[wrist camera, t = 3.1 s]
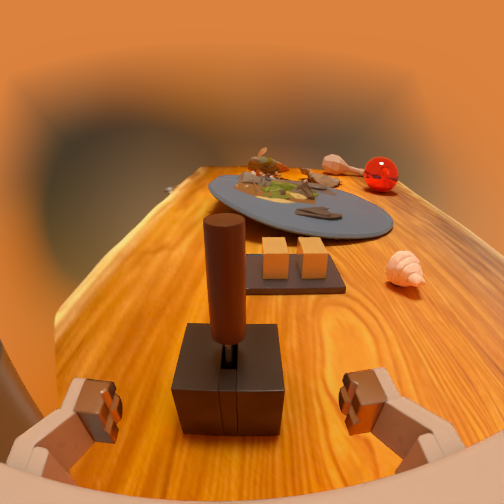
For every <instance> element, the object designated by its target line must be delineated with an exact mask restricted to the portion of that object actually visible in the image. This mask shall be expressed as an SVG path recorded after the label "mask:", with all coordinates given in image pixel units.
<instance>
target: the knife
mask: <svg viewBox="0 0 504 504" xmlns="http://www.w3.org/2000/svg"><path fill="white" fill-rule="evenodd" d="M203 227H204V244H205V260H206V275H207V289H208V302H209V314H210V326H211V336H212V338H213V340H214V341H215V342H217V343H219V344H222V345H225V353H226V368H227V369H234V359H233V345H234V344H238V343H240V342H241V341H243V340H244V338H245V336H246V269H245V218H244V217H243V216H241V215H239V214H234V213H218V214H213V215H209V216H207V217H205V218H204V220H203Z"/></svg>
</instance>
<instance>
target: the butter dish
mask: <svg viewBox="0 0 504 504" xmlns="http://www.w3.org/2000/svg"><path fill="white" fill-rule="evenodd" d="M345 291H346V286H345V284H344V282H343V280H342V278H341V276H340V274H339V272H338V270H337V268H336V266H335V264H334V262H333V260H332V258H331V256H330V255H329V254H328V252H327V250H326V248H325V246H324V244H323V242H322V240H321V239H320V237H298V243H297V254H289V251H288V247H287V243H286V240H285V237H262V254H246V294H321V293H345Z"/></svg>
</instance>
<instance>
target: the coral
mask: <svg viewBox="0 0 504 504" xmlns="http://www.w3.org/2000/svg"><path fill="white" fill-rule="evenodd" d="M300 171H301V172H302V174H304V175H307V176H308V178H309V180H310V181H311V182H312V183H318V184H323V185H325V186H326V187H329V188H333V187H335V186H337V185H339V183H340V182H342V181H340V180H339V179H338V178H332V177H330V176H328V175H322V174H315V173H310V170H308V169H304V168H302V167H300Z"/></svg>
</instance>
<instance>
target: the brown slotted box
mask: <svg viewBox="0 0 504 504" xmlns="http://www.w3.org/2000/svg"><path fill="white" fill-rule="evenodd" d="M233 359H234V369H227V368H226V353H225V345H222V344H219V343H217V342H215V341H214V340H213V338H212V336H211V326H210V324H202V323H187V327H186V330H185V334H184V338H183V342H182V346H181V350H180V354H179V358H178V362H177V366H176V371H175V375H174V379H173V383H172V387H171V390H172V394H173V398H174V402H175V406H176V409H177V413H178V417H179V420H180V424H181V427H182V431H183V433H185V434H200V435H222V436H223V435H224V436H238V435H239V436H269V435H279V434H280V427H281V419H282V411H283V402H284V393H285V388H284V379H283V371H282V362H281V353H280V345H279V336H278V328H277V324H246V336H245V338H244V340H243V341H241V342H240V343H238V344H234V345H233Z"/></svg>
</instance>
